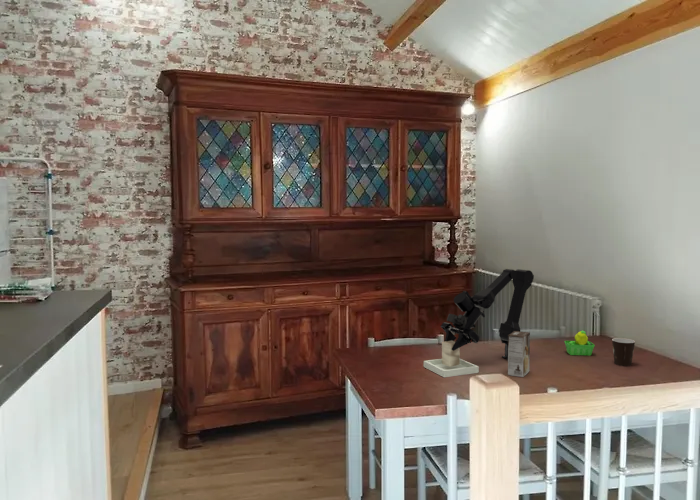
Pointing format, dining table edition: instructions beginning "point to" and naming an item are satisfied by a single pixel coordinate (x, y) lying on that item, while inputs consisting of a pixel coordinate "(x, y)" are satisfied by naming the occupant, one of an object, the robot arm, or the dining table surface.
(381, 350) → the dining table surface
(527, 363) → the coffee box
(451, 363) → the birch block
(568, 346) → the fruit basket
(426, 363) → the tray
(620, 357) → the coffee mug
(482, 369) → the dining table surface
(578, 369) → the dining table surface
